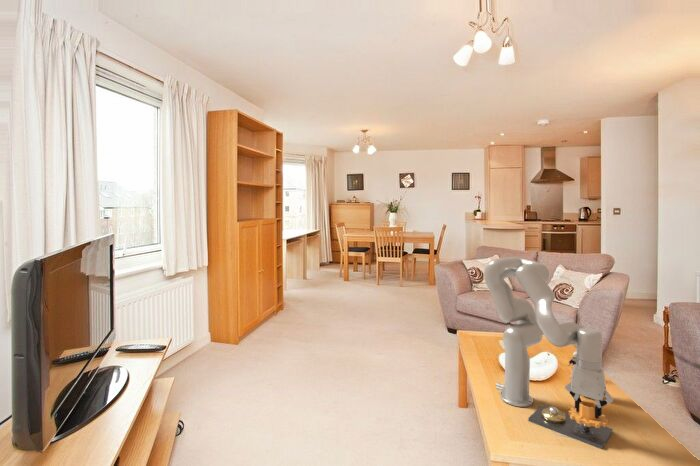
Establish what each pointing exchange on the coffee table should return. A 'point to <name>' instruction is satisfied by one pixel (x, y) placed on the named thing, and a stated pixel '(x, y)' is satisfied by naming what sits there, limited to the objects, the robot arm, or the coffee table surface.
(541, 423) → the carrier plate
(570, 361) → the grandmother figurine
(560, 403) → the coffee table surface
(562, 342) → the robot arm
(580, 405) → the planet gear
